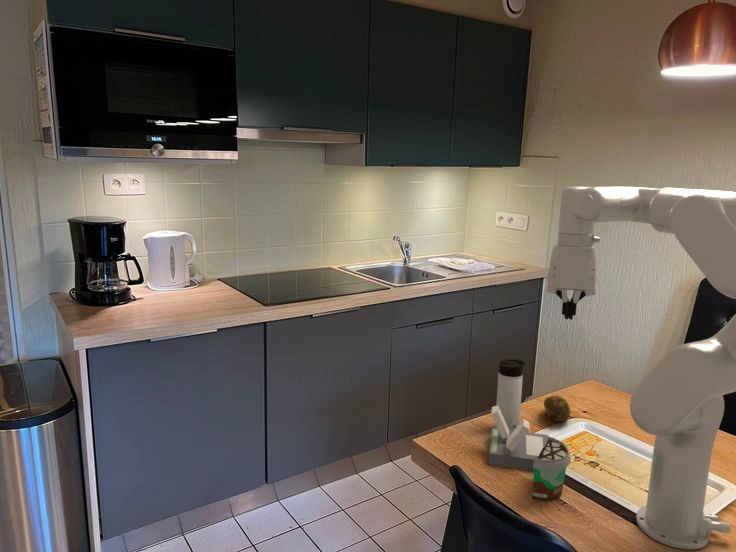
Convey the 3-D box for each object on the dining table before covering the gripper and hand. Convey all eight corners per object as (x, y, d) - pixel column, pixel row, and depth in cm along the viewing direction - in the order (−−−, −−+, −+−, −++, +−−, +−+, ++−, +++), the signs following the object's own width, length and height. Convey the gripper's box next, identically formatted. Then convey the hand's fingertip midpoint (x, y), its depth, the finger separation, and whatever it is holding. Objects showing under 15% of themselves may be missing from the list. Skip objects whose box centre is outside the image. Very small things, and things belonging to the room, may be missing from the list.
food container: (560, 511, 112) (564, 467, 111) (530, 502, 116) (533, 458, 114) (573, 483, 123) (576, 442, 121) (545, 475, 126) (548, 435, 124)
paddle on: (511, 434, 138) (498, 404, 137) (511, 442, 133) (497, 412, 133) (505, 436, 138) (492, 406, 138) (504, 444, 134) (491, 414, 133)
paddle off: (509, 447, 133) (529, 421, 130) (508, 456, 128) (529, 430, 126) (503, 443, 133) (523, 418, 130) (502, 452, 129) (523, 426, 126)
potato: (579, 416, 157) (581, 390, 155) (563, 432, 147) (566, 404, 145) (550, 408, 162) (552, 382, 160) (533, 423, 152) (535, 396, 150)
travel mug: (520, 438, 143) (526, 366, 139) (495, 435, 145) (499, 364, 141) (519, 427, 149) (524, 358, 145) (494, 425, 151) (498, 356, 147)
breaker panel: (547, 445, 139) (548, 434, 139) (550, 473, 127) (551, 461, 126) (491, 438, 143) (491, 427, 142) (488, 464, 130) (489, 452, 129)
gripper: (607, 240, 127) (599, 316, 130) (540, 237, 131) (534, 311, 134) (612, 244, 120) (604, 325, 123) (541, 241, 123) (535, 319, 127)
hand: (568, 317), depth 129 cm, fingers closed
